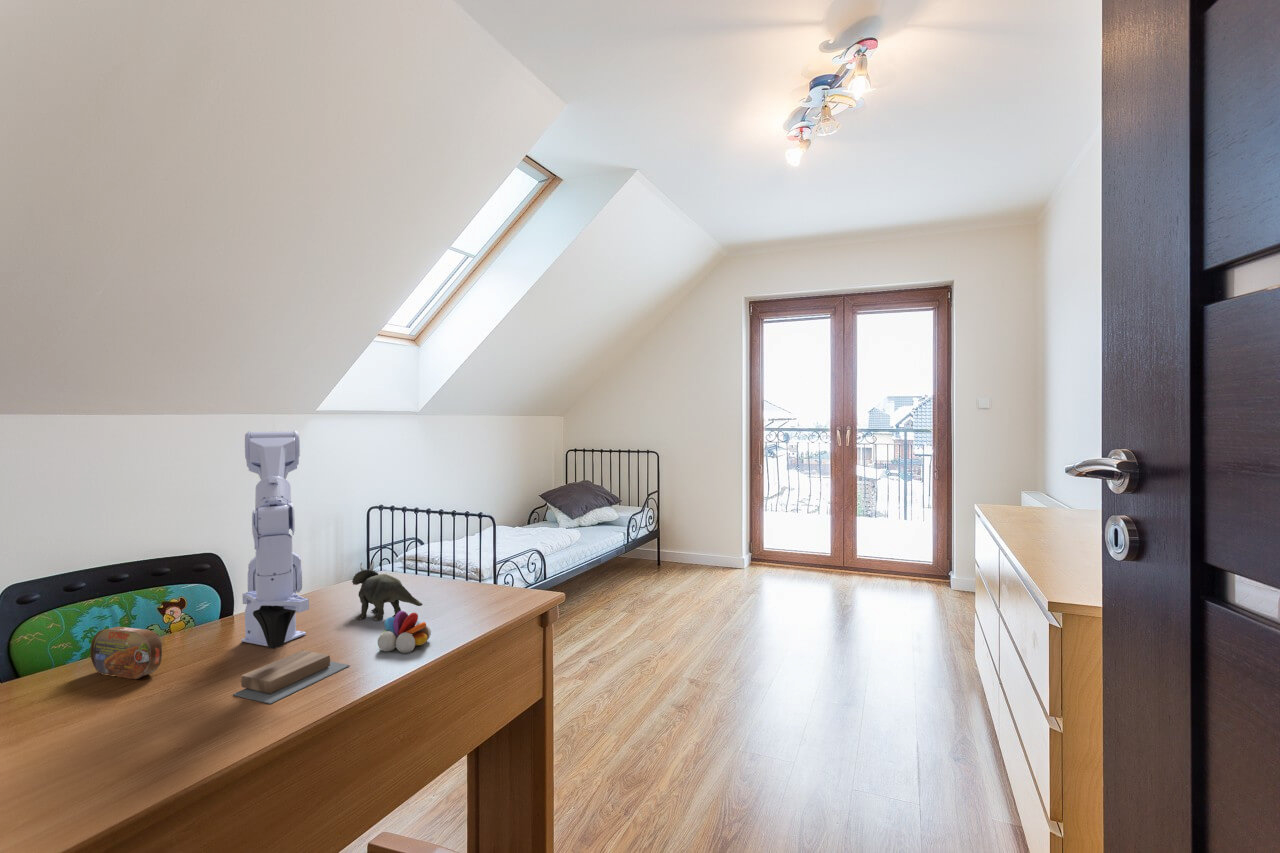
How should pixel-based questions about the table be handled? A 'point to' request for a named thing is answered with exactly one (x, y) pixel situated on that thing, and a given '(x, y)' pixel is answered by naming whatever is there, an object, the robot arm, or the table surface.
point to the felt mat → (291, 685)
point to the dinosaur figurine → (380, 592)
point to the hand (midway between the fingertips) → (276, 646)
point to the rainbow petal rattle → (403, 633)
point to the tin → (126, 652)
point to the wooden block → (285, 671)
